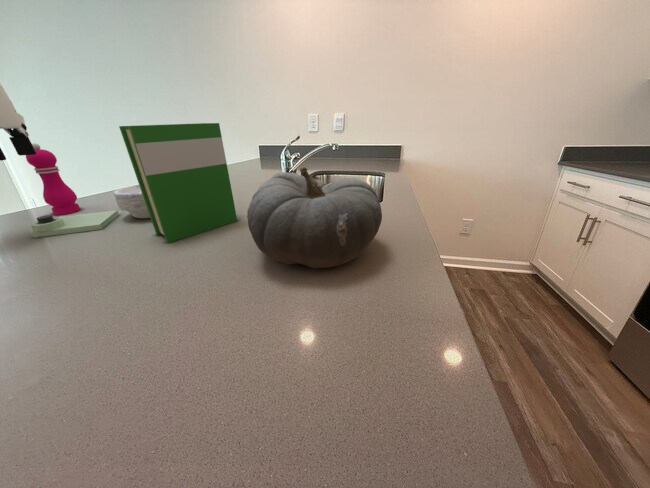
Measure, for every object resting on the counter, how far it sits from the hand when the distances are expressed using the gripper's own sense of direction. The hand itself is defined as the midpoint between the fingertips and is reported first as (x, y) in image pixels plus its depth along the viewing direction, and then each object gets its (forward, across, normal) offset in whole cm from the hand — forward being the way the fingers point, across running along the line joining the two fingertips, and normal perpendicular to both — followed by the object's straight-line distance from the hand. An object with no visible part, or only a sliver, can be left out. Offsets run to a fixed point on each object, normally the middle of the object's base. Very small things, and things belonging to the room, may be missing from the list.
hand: (13, 157), depth 57 cm
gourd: (+18, +34, +60) cm, 71 cm away
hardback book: (+18, +11, +35) cm, 41 cm away
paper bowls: (+18, -6, +21) cm, 29 cm away
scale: (+18, -4, +4) cm, 19 cm away
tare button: (+16, 0, 0) cm, 16 cm away
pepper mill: (+18, -20, -6) cm, 27 cm away
